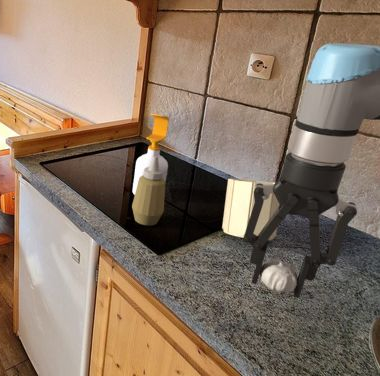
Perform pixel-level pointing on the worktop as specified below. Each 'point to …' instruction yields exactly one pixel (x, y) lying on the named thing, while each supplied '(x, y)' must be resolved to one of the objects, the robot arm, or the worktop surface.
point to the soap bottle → (153, 150)
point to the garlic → (278, 276)
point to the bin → (246, 207)
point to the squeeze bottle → (149, 195)
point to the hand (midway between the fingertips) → (275, 285)
